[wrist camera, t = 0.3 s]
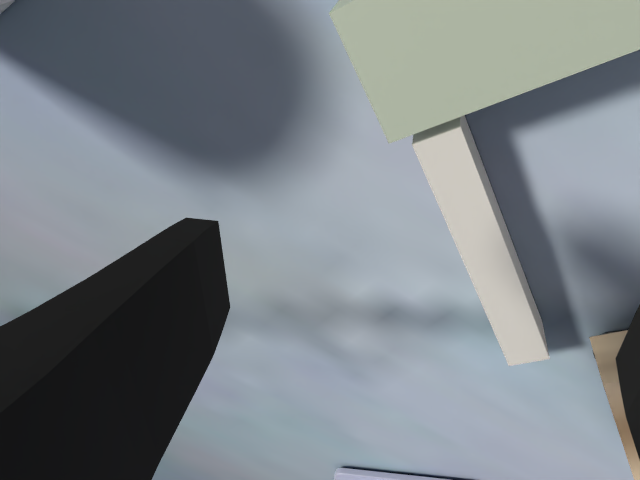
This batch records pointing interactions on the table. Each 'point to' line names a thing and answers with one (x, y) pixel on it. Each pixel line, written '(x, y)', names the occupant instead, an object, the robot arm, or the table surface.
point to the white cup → (5, 4)
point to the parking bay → (471, 95)
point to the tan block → (615, 390)
